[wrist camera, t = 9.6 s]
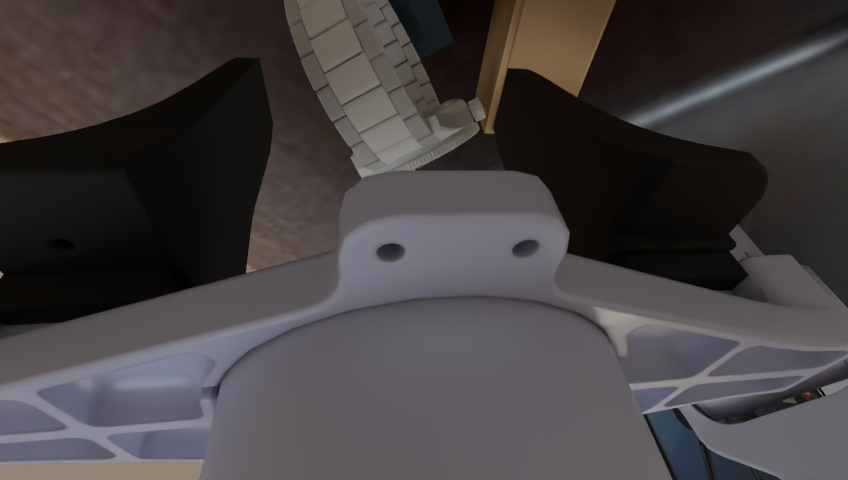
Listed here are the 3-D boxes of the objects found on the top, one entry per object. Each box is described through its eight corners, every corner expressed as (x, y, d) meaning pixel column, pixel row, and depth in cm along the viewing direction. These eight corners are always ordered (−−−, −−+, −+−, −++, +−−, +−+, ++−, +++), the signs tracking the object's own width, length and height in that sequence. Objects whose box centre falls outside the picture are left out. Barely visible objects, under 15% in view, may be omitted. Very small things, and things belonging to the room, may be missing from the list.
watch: (369, 98, 23) (376, 245, 16) (268, -56, 17) (207, 64, 10) (460, 49, 21) (515, 186, 14) (383, -136, 16) (409, -64, 9)
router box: (774, 321, 52) (990, 597, 34) (697, 359, 59) (845, 606, 41) (573, 261, 37) (774, 697, 19) (501, 322, 44) (602, 684, 26)
